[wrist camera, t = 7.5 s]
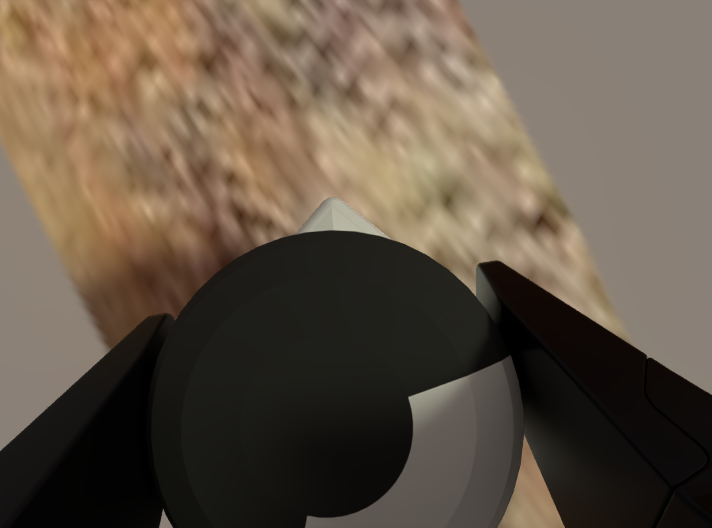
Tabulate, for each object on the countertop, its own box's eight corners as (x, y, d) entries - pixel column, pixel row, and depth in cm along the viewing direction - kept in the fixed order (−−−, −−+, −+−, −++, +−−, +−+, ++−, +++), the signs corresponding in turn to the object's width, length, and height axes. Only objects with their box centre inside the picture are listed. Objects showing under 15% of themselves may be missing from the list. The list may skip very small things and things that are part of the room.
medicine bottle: (234, 376, 19) (-15, 456, 7) (347, 239, 19) (297, 96, 8) (373, 500, 18) (360, 833, 6) (488, 352, 18) (685, 391, 7)
